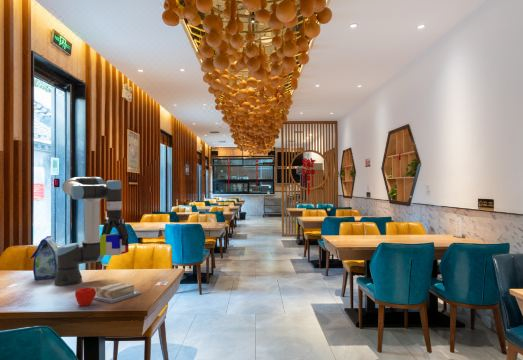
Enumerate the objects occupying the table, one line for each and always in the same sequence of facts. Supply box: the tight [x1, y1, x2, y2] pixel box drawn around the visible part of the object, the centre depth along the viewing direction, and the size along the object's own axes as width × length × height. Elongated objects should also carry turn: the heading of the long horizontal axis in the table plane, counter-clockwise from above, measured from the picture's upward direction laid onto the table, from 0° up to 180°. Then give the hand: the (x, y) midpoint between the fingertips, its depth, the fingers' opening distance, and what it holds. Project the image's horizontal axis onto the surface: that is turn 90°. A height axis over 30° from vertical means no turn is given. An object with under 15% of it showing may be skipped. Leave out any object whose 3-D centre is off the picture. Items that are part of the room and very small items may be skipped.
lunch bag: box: [30, 235, 59, 281], centre depth 250 cm, size 22×17×26 cm
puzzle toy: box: [100, 232, 130, 256], centre depth 198 cm, size 10×10×10 cm
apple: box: [74, 287, 97, 307], centre depth 183 cm, size 9×9×8 cm
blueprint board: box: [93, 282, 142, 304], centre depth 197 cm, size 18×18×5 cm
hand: (114, 251), depth 198 cm, fingers closed on puzzle toy, 12 cm apart
